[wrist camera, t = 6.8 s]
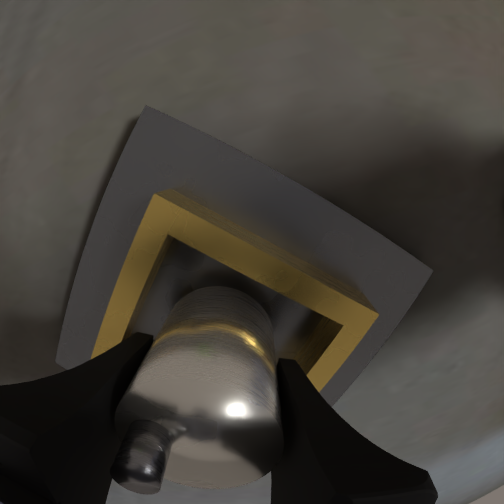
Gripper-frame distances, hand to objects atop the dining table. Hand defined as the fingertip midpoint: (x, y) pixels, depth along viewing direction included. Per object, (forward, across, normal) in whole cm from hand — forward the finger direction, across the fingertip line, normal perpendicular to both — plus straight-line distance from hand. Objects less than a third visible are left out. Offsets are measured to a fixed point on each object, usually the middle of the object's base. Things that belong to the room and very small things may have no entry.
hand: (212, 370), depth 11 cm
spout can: (+2, 0, 0) cm, 2 cm away
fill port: (+4, 0, 0) cm, 4 cm away
